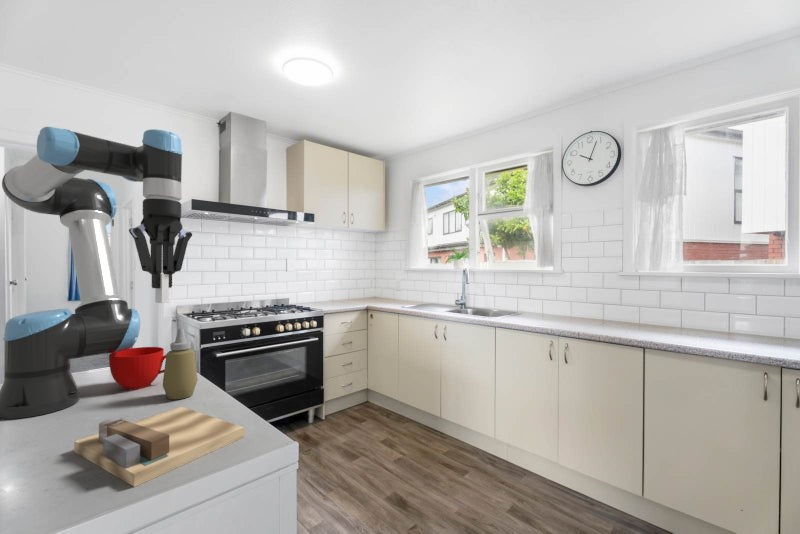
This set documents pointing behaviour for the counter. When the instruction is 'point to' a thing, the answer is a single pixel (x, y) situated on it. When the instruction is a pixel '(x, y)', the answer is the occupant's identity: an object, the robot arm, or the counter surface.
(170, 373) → the squeeze bottle
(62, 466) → the counter surface
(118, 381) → the ceramic cup
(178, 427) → the wooden flat board
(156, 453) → the hinged leg
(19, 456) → the counter surface
